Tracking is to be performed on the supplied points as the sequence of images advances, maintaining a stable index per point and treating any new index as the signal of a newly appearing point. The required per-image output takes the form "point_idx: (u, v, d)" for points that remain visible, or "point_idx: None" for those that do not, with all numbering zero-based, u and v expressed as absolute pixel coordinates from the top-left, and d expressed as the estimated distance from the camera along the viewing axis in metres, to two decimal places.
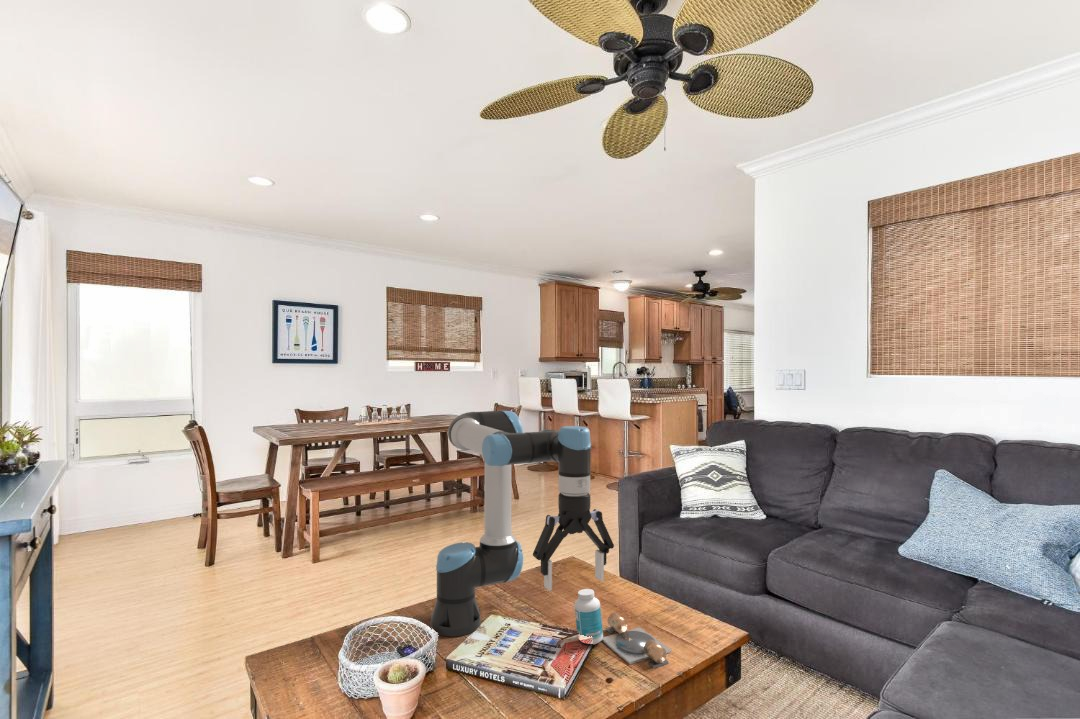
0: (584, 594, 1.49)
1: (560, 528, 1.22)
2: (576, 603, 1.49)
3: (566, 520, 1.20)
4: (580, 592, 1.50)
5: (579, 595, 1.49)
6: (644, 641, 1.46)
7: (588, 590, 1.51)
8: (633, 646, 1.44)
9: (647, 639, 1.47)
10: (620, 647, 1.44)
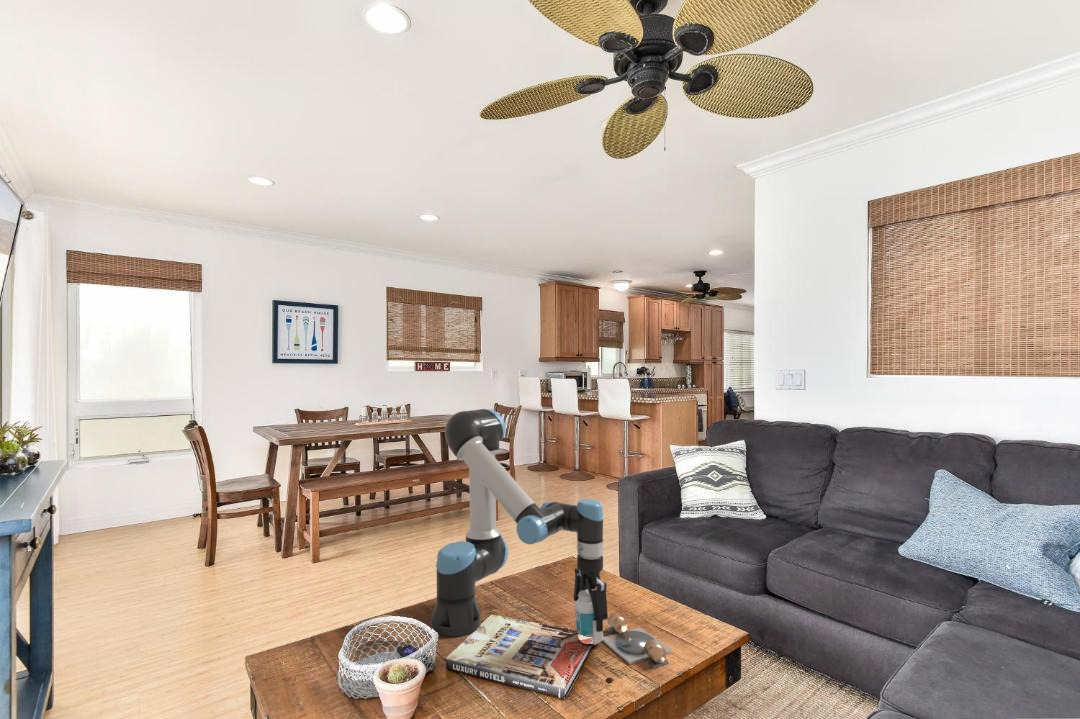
0: (584, 595, 1.48)
1: None
2: (576, 604, 1.49)
3: (582, 572, 1.52)
4: (580, 593, 1.49)
5: (579, 596, 1.48)
6: (644, 641, 1.46)
7: None
8: (633, 646, 1.44)
9: (647, 639, 1.47)
10: (620, 647, 1.44)
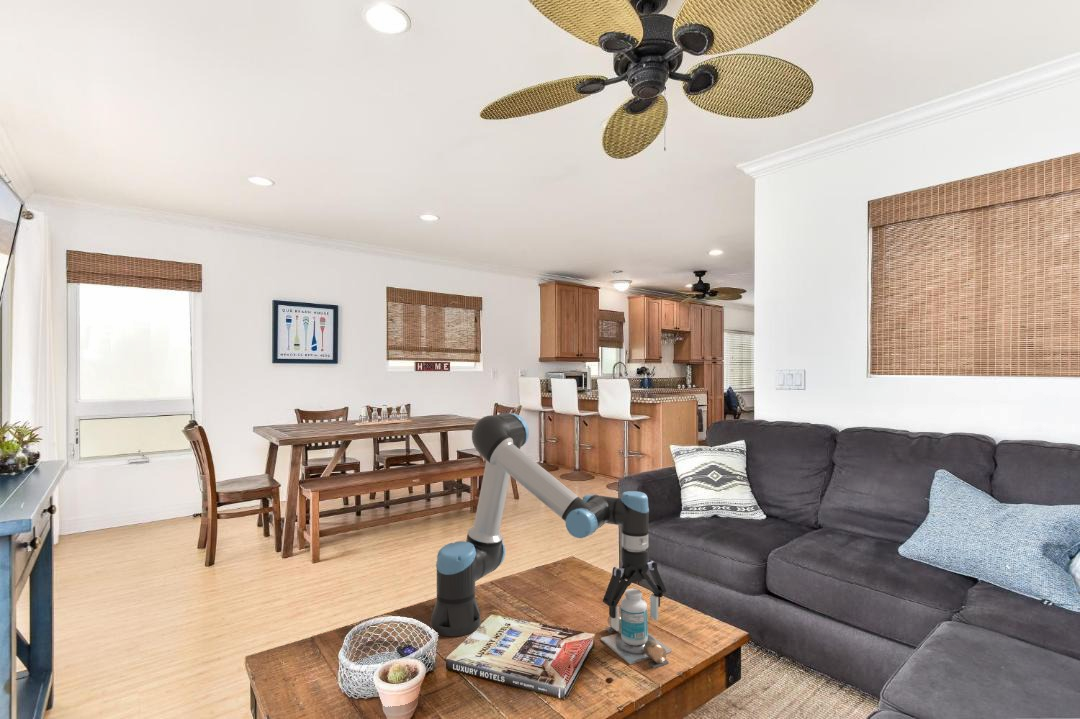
0: (638, 592, 1.47)
1: (623, 577, 1.47)
2: (638, 606, 1.44)
3: (629, 571, 1.45)
4: (634, 594, 1.46)
5: (638, 596, 1.45)
6: None
7: (629, 590, 1.48)
8: (633, 646, 1.44)
9: (647, 639, 1.47)
10: (620, 647, 1.44)
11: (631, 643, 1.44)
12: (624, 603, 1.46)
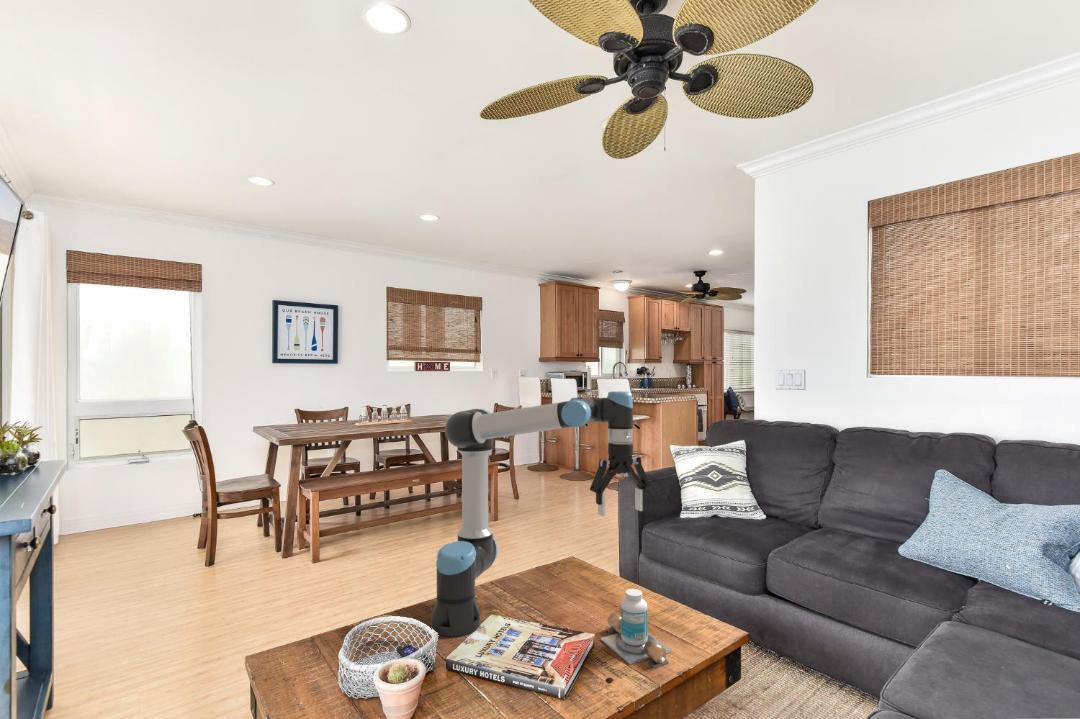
0: (638, 593, 1.47)
1: (609, 470, 1.58)
2: (639, 606, 1.44)
3: (615, 463, 1.56)
4: (634, 594, 1.46)
5: (639, 596, 1.45)
6: None
7: (630, 591, 1.48)
8: (633, 646, 1.44)
9: (647, 639, 1.47)
10: (620, 647, 1.44)
11: (631, 643, 1.44)
12: (625, 604, 1.46)
